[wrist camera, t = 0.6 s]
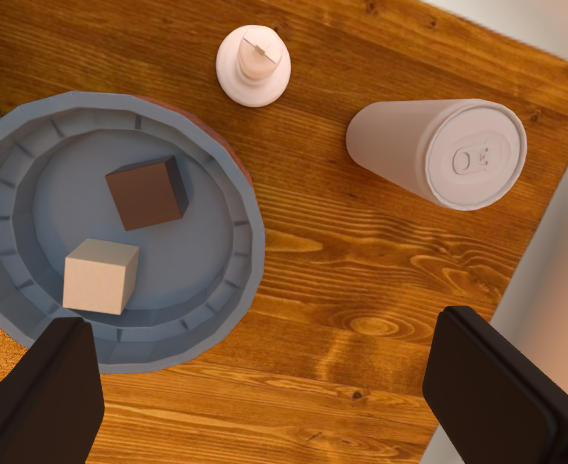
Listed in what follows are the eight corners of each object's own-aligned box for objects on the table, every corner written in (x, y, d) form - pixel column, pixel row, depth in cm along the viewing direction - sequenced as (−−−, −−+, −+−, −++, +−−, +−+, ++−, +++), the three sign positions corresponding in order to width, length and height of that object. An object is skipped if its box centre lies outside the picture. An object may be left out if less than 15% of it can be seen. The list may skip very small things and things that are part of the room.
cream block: (87, 237, 26) (65, 257, 22) (140, 246, 27) (125, 266, 23) (84, 282, 27) (62, 307, 24) (134, 289, 28) (120, 315, 24)
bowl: (-18, 86, 23) (-94, 80, 17) (264, 103, 25) (271, 103, 20) (29, 329, 28) (-18, 379, 23) (256, 325, 31) (259, 369, 25)
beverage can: (409, 162, 28) (527, 201, 16) (347, 175, 27) (425, 224, 16) (404, 95, 26) (533, 87, 15) (339, 109, 26) (418, 110, 14)
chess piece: (243, 8, 23) (246, -60, 14) (304, 59, 24) (347, 29, 15) (201, 76, 24) (178, 57, 14) (263, 121, 25) (278, 131, 16)
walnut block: (122, 165, 25) (103, 175, 21) (174, 154, 25) (164, 161, 21) (139, 215, 26) (125, 232, 22) (189, 204, 26) (182, 218, 23)
